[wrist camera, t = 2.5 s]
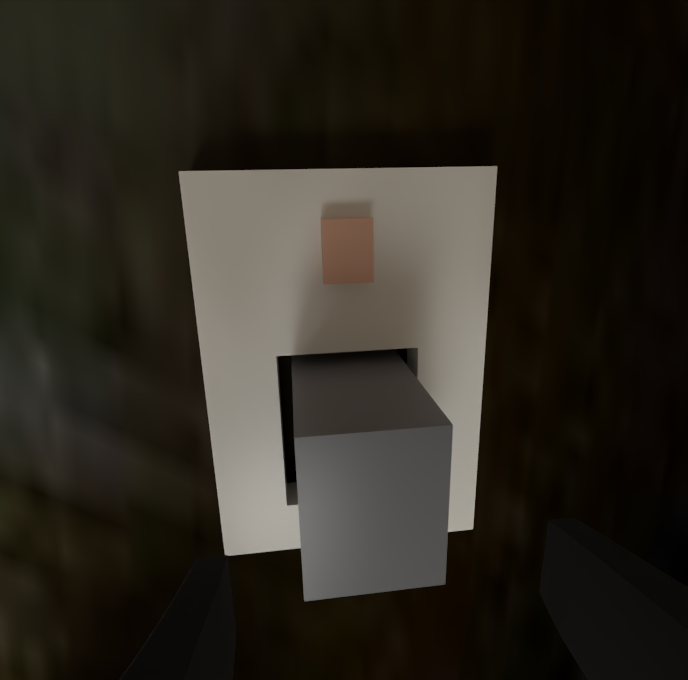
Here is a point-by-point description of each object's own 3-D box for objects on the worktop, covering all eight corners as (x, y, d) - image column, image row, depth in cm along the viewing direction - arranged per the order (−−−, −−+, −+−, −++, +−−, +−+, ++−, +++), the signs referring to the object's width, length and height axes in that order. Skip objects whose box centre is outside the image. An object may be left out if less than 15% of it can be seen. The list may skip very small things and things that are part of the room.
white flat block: (459, 506, 20) (478, 539, 18) (229, 529, 19) (223, 567, 17) (478, 169, 16) (505, 164, 14) (189, 175, 15) (173, 169, 13)
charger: (393, 461, 19) (445, 584, 13) (298, 470, 19) (303, 601, 12) (394, 348, 18) (453, 425, 11) (291, 354, 17) (293, 438, 11)
